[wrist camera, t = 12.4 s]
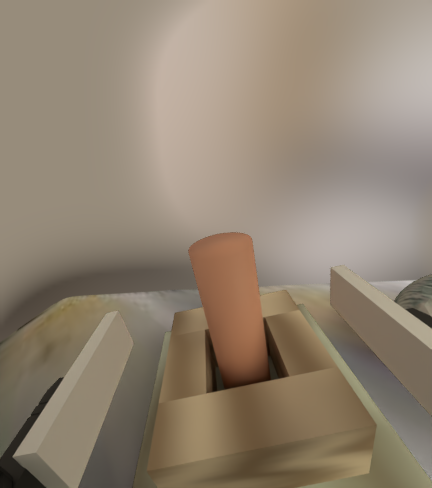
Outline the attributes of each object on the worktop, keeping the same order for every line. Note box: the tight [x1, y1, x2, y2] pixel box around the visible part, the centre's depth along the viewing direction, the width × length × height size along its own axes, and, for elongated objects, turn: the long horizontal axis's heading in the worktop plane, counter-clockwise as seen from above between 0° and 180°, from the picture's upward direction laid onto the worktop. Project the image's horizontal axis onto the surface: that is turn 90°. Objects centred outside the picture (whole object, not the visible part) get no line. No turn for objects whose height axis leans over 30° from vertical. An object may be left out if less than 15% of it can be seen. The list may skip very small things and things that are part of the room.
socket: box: [132, 290, 432, 488], centre depth 17 cm, size 18×18×6 cm
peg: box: [188, 232, 271, 390], centre depth 15 cm, size 4×4×14 cm
